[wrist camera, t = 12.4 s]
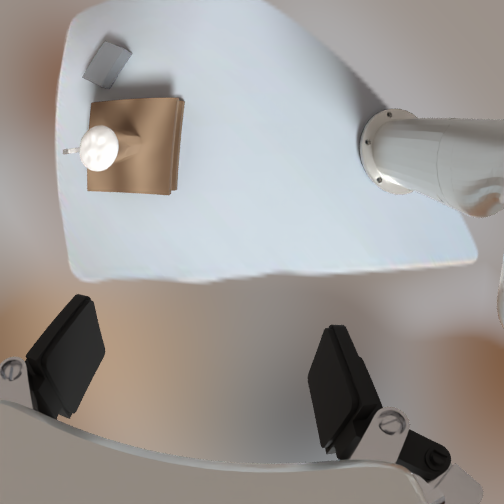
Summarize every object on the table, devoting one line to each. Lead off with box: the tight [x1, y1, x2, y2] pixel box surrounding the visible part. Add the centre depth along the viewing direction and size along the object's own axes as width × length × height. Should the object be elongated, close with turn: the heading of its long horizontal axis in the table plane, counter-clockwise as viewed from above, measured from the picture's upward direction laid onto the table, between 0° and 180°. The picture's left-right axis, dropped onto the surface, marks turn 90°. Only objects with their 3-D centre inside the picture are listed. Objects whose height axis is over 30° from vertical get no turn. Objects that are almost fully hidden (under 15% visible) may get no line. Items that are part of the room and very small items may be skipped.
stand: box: [87, 98, 185, 195], centre depth 31 cm, size 12×12×4 cm
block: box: [82, 41, 132, 89], centre depth 27 cm, size 4×6×3 cm, turn 145°
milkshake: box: [63, 126, 142, 171], centre depth 25 cm, size 5×5×10 cm
